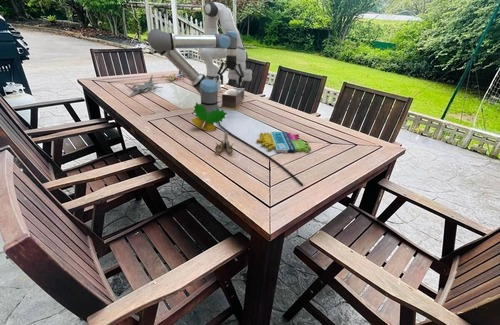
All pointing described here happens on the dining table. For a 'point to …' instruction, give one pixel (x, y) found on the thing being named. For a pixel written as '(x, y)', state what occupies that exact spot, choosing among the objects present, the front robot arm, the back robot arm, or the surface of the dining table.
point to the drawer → (242, 92)
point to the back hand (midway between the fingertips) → (239, 85)
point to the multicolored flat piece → (283, 142)
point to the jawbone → (224, 145)
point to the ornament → (207, 117)
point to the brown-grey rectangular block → (232, 99)
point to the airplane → (144, 87)
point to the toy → (175, 76)
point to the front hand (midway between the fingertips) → (230, 85)
